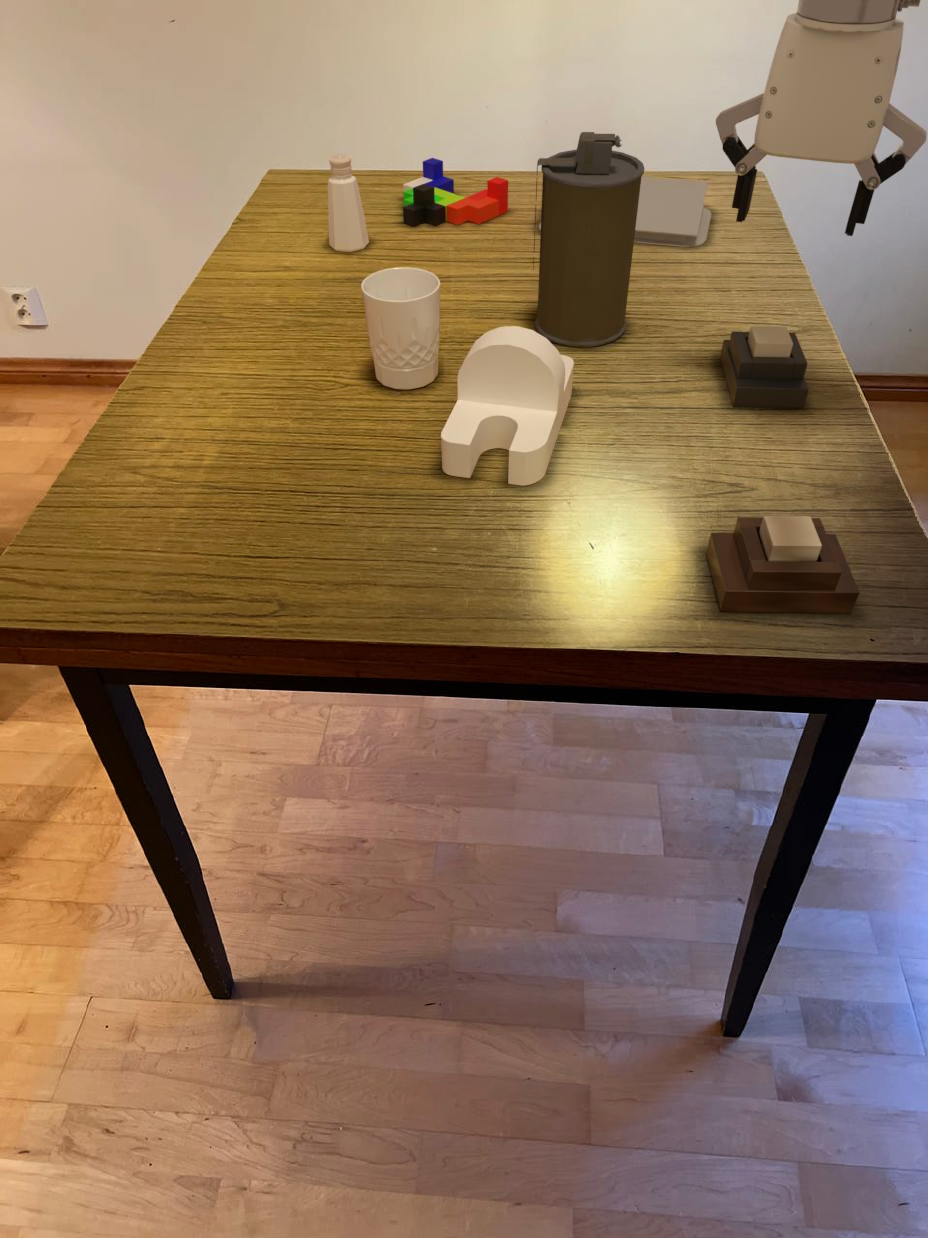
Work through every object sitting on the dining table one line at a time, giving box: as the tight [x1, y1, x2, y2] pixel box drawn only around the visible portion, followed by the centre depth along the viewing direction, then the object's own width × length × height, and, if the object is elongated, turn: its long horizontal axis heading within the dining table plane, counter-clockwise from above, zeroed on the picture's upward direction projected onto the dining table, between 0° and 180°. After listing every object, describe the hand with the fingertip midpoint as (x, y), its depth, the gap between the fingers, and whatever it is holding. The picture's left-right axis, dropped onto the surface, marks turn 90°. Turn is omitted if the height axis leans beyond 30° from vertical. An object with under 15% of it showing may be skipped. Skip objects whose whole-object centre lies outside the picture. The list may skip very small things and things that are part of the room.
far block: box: [719, 331, 810, 409], centre depth 91 cm, size 10×7×4 cm
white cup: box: [360, 266, 441, 390], centre depth 91 cm, size 8×8×10 cm
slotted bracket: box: [440, 325, 575, 487], centre depth 83 cm, size 18×10×10 cm, turn 165°
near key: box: [759, 515, 822, 562], centre depth 67 cm, size 4×4×2 cm
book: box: [538, 176, 712, 248], centre depth 123 cm, size 15×23×4 cm, turn 74°
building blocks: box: [402, 157, 509, 227], centre depth 126 cm, size 15×13×4 cm
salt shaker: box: [327, 154, 370, 253], centre depth 116 cm, size 5×5×11 cm
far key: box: [747, 325, 793, 357], centre depth 89 cm, size 4×4×2 cm
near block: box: [706, 516, 860, 614], centre depth 69 cm, size 10×7×4 cm
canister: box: [532, 131, 645, 348], centre depth 95 cm, size 11×10×20 cm
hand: (795, 223), depth 81 cm, fingers open, 9 cm apart
